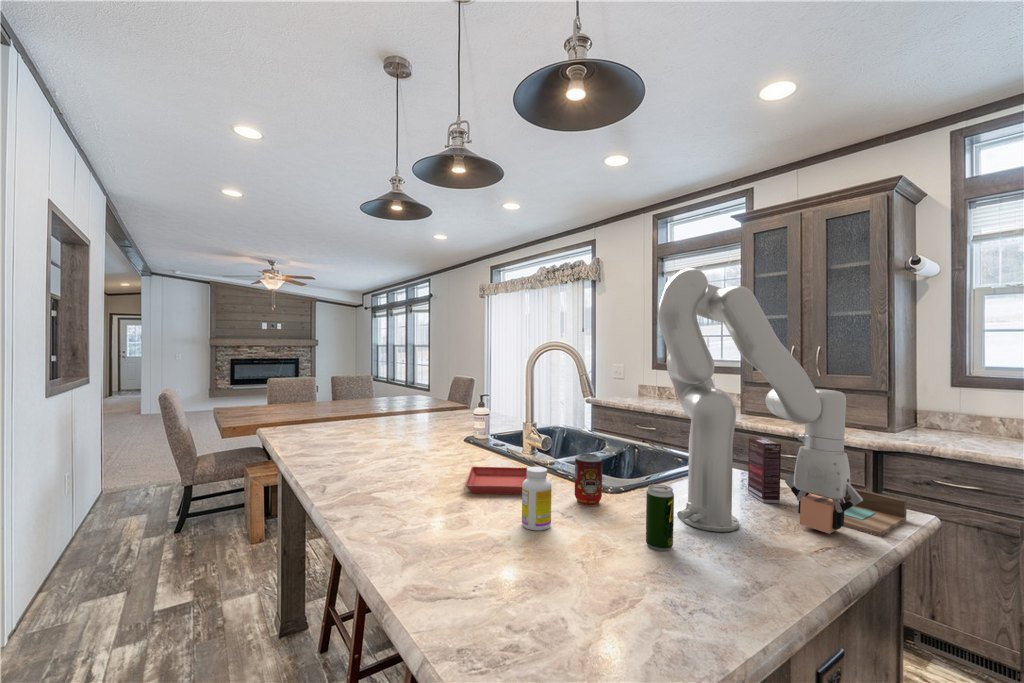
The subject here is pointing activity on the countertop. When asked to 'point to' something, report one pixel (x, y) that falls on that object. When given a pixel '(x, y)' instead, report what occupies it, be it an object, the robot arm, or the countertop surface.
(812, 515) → the brown box
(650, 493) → the beer can
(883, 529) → the corner board
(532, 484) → the supplement bottle
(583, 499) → the soda can
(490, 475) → the plant saucer
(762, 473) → the supplement box
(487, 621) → the countertop surface
